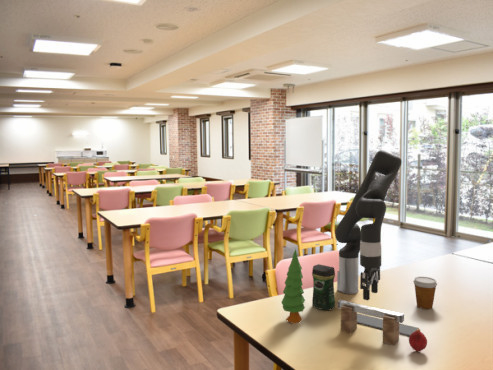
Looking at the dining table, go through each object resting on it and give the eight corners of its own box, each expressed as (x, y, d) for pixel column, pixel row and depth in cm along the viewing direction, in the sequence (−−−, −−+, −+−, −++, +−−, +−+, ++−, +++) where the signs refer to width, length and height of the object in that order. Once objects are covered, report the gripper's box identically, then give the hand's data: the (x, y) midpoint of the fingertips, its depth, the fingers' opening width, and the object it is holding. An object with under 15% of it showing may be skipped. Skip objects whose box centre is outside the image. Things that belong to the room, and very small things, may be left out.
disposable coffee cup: (439, 311, 174) (439, 283, 173) (415, 310, 176) (415, 282, 175) (433, 303, 183) (434, 276, 182) (410, 301, 185) (411, 275, 184)
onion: (425, 357, 136) (425, 334, 136) (407, 353, 139) (407, 330, 139) (428, 350, 141) (428, 327, 140) (410, 346, 144) (410, 324, 144)
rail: (337, 308, 159) (337, 301, 159) (340, 305, 161) (340, 299, 161) (401, 323, 144) (401, 315, 144) (404, 320, 146) (404, 313, 146)
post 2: (382, 342, 147) (382, 316, 147) (387, 335, 152) (388, 310, 151) (393, 345, 145) (394, 318, 144) (399, 338, 150) (399, 313, 149)
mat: (341, 319, 167) (341, 318, 167) (349, 312, 174) (349, 311, 174) (413, 337, 151) (413, 335, 151) (419, 329, 157) (419, 328, 157)
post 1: (340, 330, 157) (340, 306, 156) (347, 325, 162) (347, 301, 161) (350, 333, 155) (350, 308, 154) (356, 327, 159) (357, 303, 159)
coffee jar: (338, 307, 180) (338, 265, 179) (328, 312, 175) (328, 269, 173) (319, 301, 187) (319, 261, 185) (309, 306, 181) (309, 265, 180)
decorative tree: (301, 326, 161) (301, 251, 158) (278, 323, 164) (277, 250, 162) (306, 317, 170) (306, 246, 168) (284, 314, 173) (284, 244, 171)
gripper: (367, 247, 159) (367, 288, 160) (353, 256, 147) (353, 300, 148) (387, 250, 154) (386, 292, 155) (374, 258, 143) (373, 304, 144)
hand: (370, 296), depth 152 cm, fingers open, 8 cm apart
